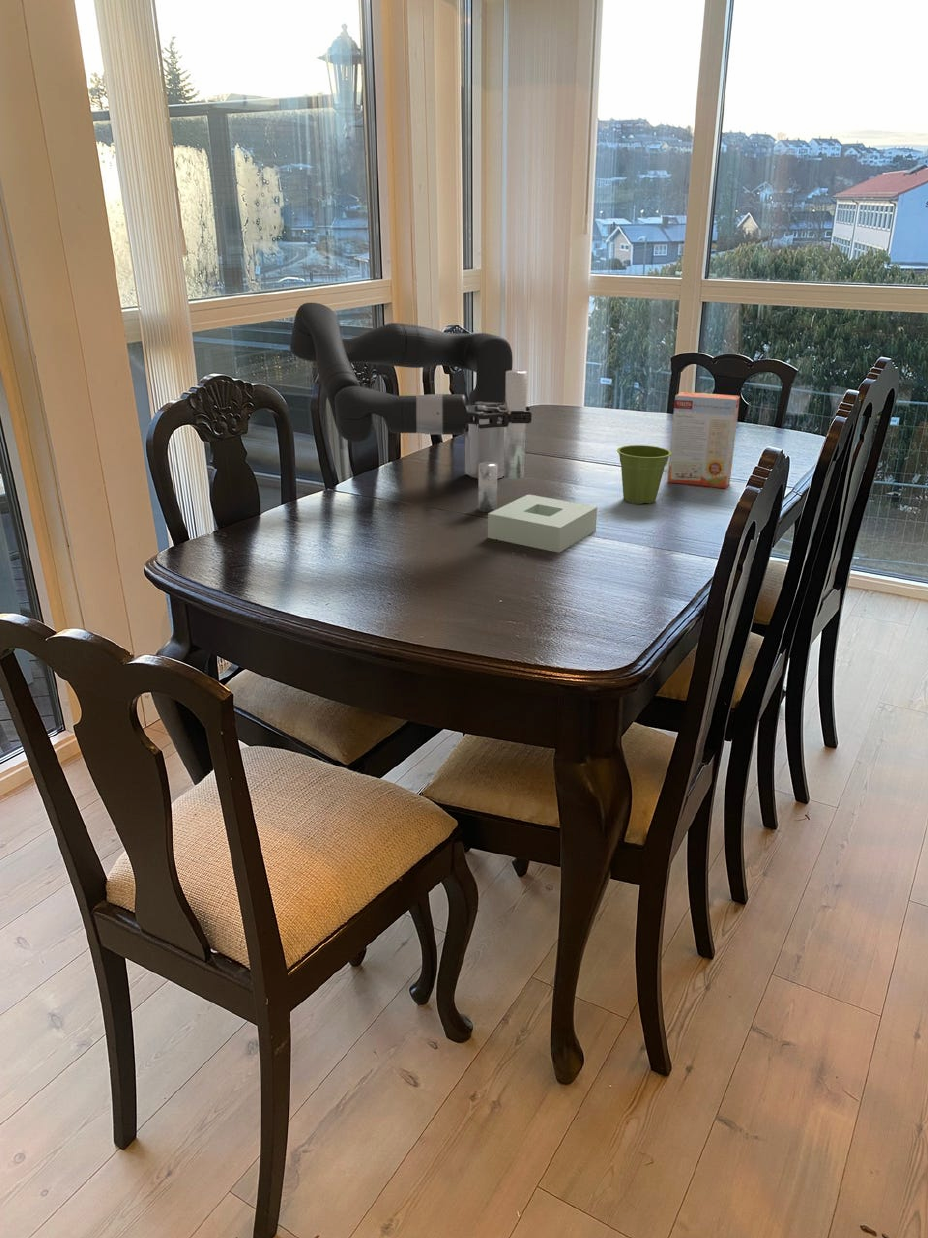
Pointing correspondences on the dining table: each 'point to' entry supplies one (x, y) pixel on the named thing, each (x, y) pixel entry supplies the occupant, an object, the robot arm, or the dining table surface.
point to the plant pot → (642, 472)
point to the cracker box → (703, 439)
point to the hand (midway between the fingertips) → (529, 414)
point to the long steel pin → (515, 424)
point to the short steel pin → (487, 487)
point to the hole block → (542, 522)
